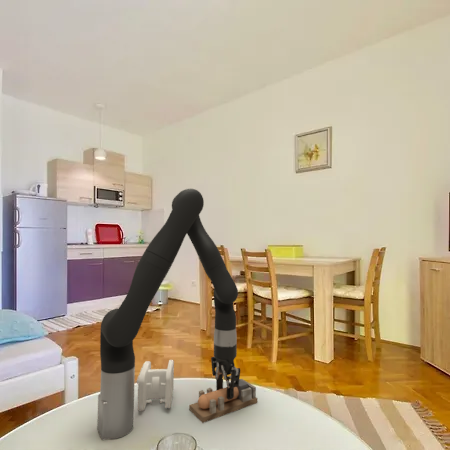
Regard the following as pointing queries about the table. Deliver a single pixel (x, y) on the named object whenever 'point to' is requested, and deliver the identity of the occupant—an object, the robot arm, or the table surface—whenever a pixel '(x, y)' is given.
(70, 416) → the table surface
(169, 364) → the cable organizer
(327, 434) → the table surface
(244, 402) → the brown pegged board
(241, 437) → the table surface
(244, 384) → the tan rounded rod
